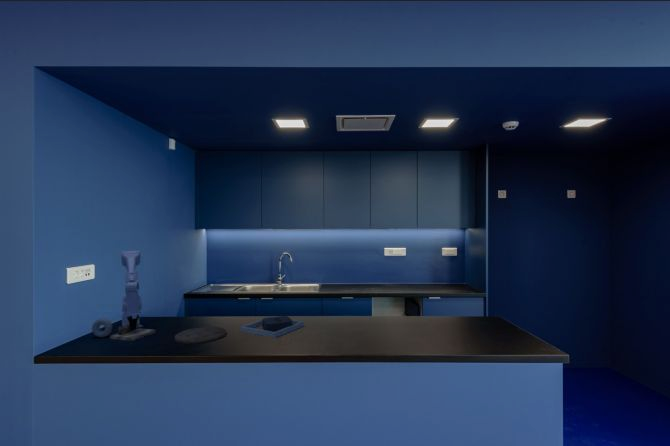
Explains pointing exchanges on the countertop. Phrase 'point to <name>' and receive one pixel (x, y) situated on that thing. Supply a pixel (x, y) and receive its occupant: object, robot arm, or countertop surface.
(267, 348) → the countertop surface
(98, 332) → the donut
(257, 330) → the tray
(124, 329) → the stool leg
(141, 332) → the stool seat
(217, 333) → the trivet
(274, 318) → the streaming box
